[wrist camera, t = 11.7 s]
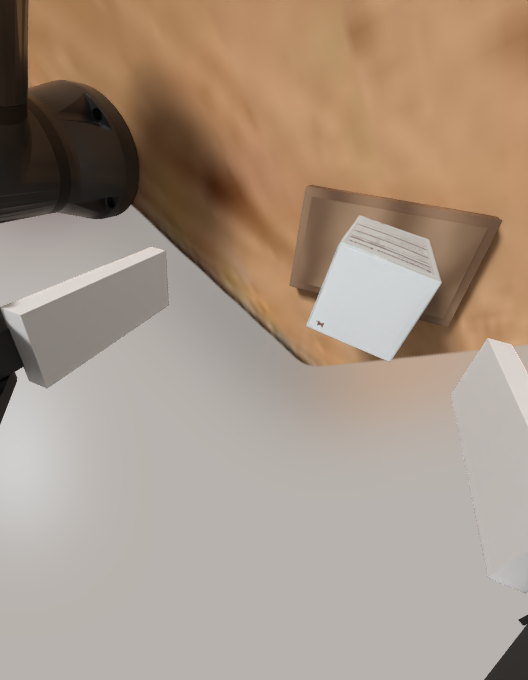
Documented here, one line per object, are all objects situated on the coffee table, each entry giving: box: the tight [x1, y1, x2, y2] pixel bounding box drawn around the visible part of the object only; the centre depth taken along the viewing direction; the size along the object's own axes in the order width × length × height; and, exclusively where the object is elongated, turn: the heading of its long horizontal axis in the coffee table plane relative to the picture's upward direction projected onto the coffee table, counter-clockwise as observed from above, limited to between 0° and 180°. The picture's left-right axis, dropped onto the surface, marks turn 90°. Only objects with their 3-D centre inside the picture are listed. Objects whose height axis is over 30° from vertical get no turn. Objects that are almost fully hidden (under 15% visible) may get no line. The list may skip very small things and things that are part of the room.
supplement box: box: [306, 215, 442, 362], centre depth 28 cm, size 7×7×13 cm
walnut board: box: [290, 185, 502, 327], centre depth 33 cm, size 18×11×2 cm, turn 82°
